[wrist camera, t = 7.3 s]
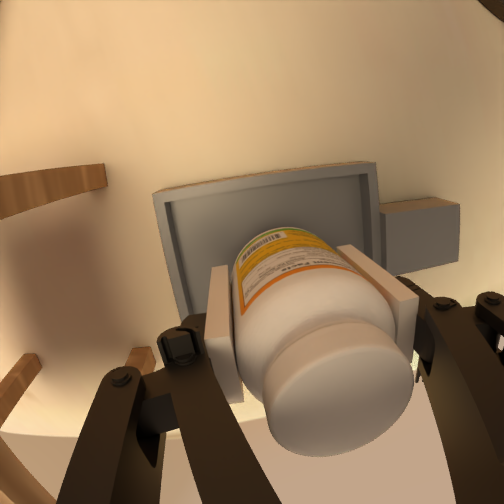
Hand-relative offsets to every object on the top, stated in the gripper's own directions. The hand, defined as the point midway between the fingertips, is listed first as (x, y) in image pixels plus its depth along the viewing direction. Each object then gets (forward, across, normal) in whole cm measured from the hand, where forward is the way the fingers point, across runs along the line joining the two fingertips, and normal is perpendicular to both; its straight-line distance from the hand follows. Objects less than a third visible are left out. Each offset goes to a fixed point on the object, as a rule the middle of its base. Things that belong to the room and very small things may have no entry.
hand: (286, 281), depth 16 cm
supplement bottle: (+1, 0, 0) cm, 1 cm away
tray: (+5, -3, 0) cm, 6 cm away
